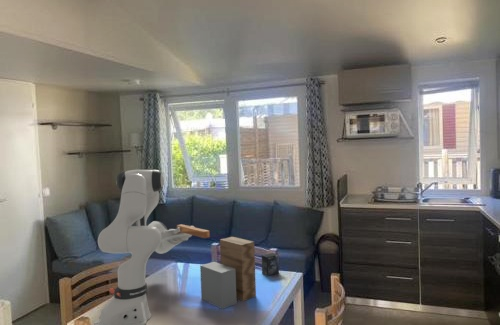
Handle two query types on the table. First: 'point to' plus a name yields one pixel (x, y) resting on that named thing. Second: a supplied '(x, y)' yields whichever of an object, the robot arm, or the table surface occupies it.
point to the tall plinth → (240, 264)
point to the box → (270, 264)
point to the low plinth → (218, 284)
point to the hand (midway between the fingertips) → (183, 227)
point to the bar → (194, 231)
